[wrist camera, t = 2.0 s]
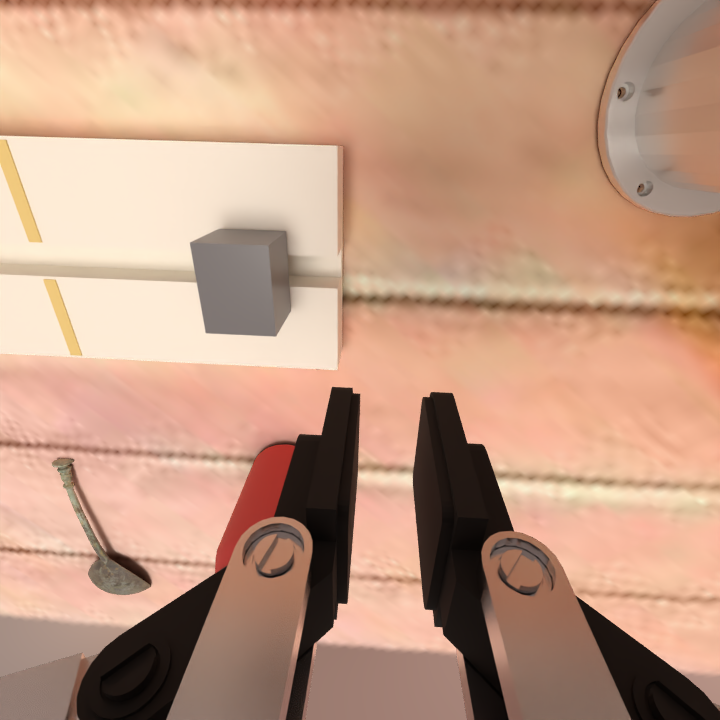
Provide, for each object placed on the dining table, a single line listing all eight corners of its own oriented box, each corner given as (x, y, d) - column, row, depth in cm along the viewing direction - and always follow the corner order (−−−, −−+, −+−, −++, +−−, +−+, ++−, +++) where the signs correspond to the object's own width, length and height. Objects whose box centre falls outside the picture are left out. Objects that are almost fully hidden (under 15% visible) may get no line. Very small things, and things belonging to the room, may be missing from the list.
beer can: (240, 458, 37) (183, 581, 26) (295, 429, 35) (257, 550, 24) (284, 500, 39) (247, 629, 29) (337, 476, 37) (319, 604, 27)
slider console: (343, 146, 24) (337, 145, 21) (342, 348, 31) (337, 370, 28) (-60, 134, 25) (-124, 132, 22) (24, 333, 32) (-17, 353, 28)
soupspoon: (111, 581, 50) (162, 581, 49) (96, 609, 47) (150, 609, 47) (36, 454, 38) (101, 453, 38) (9, 480, 36) (80, 480, 35)
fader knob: (294, 224, 25) (268, 245, 19) (298, 298, 27) (276, 336, 22) (233, 221, 25) (189, 242, 20) (242, 295, 28) (205, 333, 22)
